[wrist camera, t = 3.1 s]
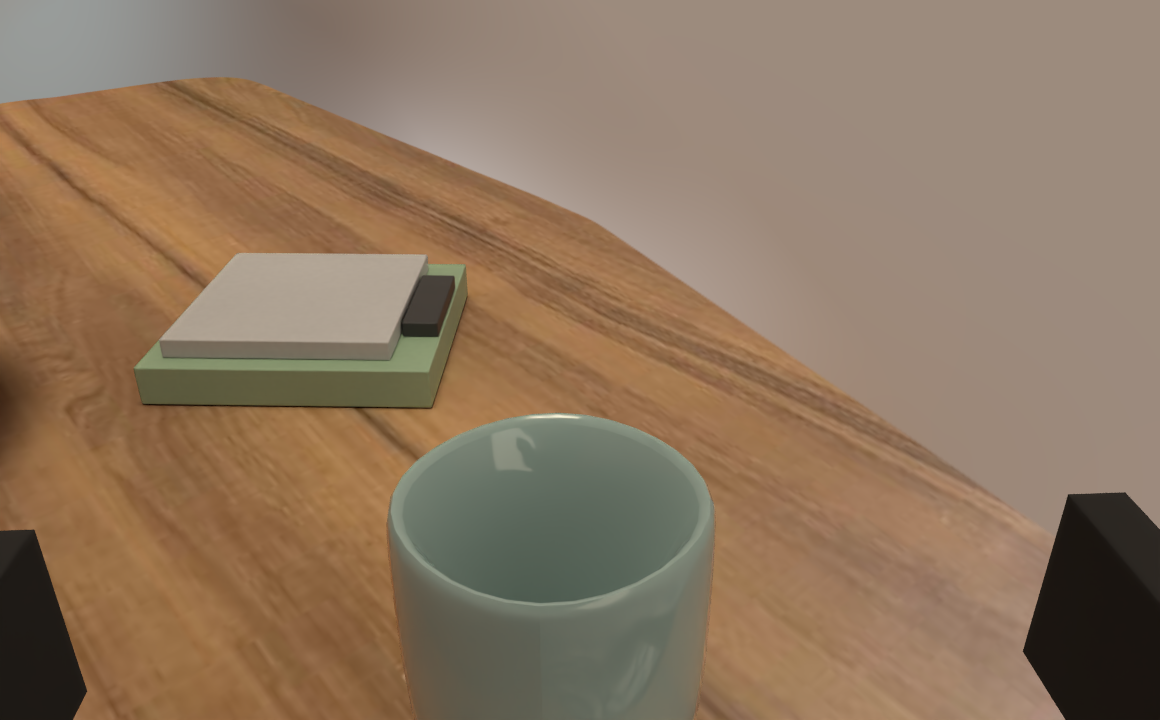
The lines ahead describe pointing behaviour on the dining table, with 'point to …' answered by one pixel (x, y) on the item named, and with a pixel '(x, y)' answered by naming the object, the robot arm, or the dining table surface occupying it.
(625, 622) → the cup
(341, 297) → the scale
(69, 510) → the dining table surface
